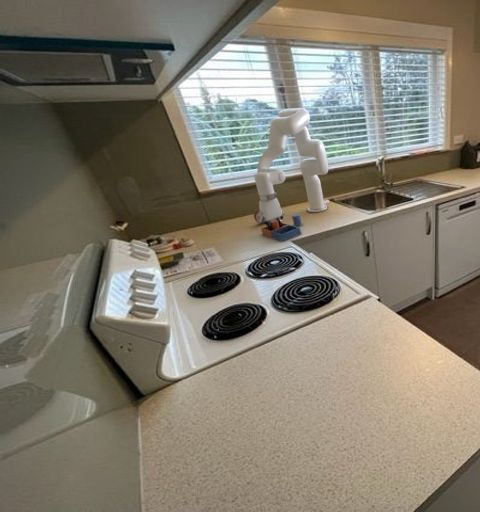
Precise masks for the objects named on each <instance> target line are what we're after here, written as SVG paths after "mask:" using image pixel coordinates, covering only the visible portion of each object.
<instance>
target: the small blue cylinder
mask: <svg viewBox="0 0 480 512" xmlns="http://www.w3.org/2000/svg"><path fill="white" fill-rule="evenodd" d="M291 218H292V222H293V226H296V227H301V226H302V225H303V222H302V217H301V214H300V213H294V214H292V215H291Z"/></svg>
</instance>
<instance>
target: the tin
mask: <svg viewBox="0 0 480 512" xmlns="http://www.w3.org/2000/svg"><path fill="white" fill-rule="evenodd" d="M253 218H254V220H255V221H256V222H257V223H258V224H261V225H263V224H264V223H261V222H260V219H261V215H260V209H257V210H255V212H254V214H253ZM272 220H276V218H275V219H272ZM264 221H265V222H266V220H264ZM264 225H265V224H264Z"/></svg>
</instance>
